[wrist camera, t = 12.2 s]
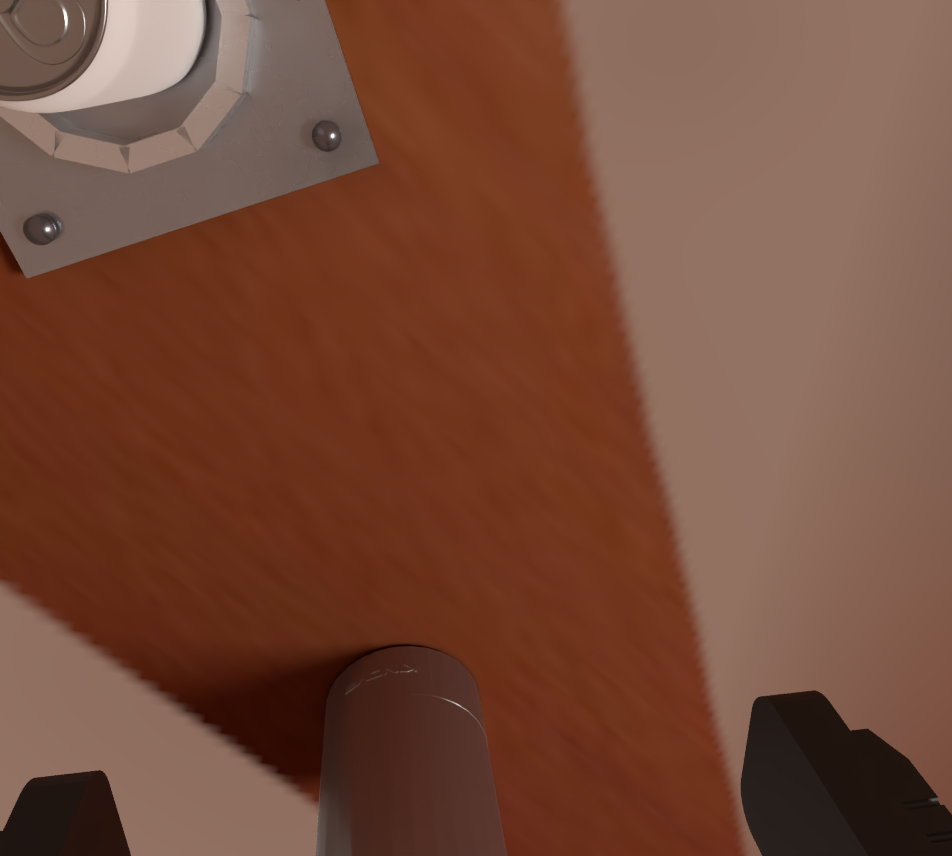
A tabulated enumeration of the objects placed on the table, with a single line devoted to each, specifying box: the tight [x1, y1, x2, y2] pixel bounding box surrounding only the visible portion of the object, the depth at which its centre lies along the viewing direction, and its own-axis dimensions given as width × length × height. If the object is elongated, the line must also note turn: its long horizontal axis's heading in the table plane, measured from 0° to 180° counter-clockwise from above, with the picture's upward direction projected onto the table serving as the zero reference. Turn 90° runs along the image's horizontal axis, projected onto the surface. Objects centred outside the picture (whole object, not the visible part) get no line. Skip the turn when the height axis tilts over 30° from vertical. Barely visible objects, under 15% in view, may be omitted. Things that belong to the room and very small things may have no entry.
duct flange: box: [0, 0, 379, 278], centre depth 31 cm, size 16×16×3 cm
